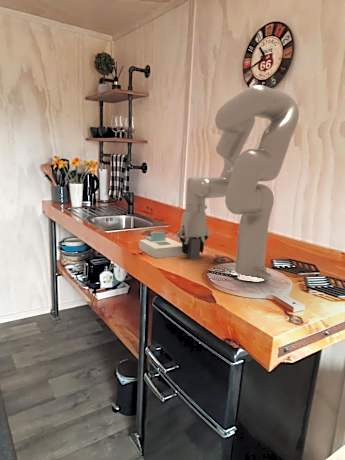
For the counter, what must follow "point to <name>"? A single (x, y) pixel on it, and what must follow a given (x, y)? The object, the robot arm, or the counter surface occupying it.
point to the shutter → (156, 236)
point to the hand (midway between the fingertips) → (192, 252)
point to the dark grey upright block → (193, 248)
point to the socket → (161, 248)
